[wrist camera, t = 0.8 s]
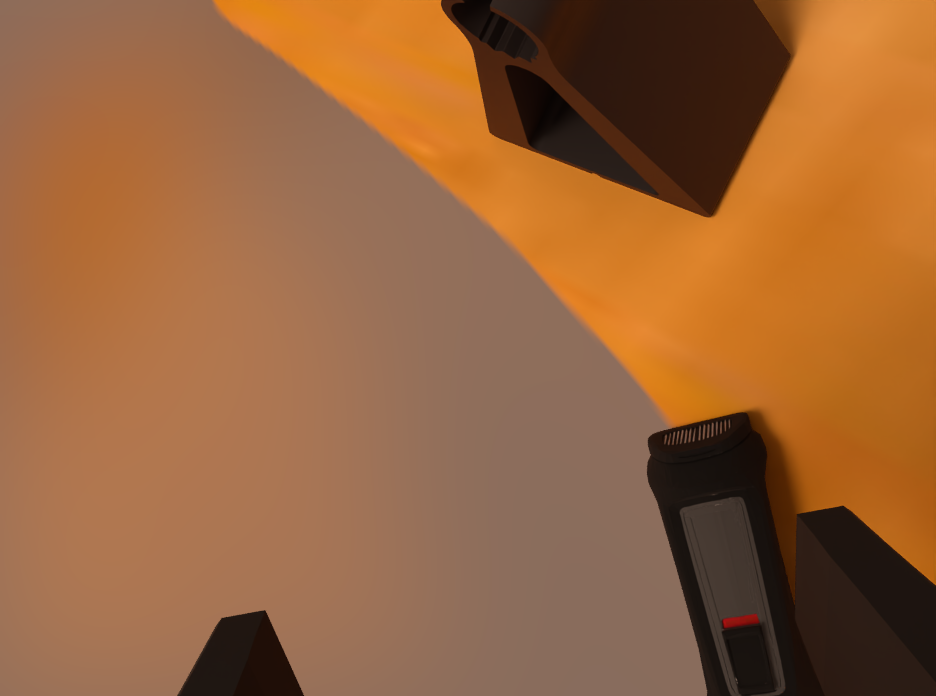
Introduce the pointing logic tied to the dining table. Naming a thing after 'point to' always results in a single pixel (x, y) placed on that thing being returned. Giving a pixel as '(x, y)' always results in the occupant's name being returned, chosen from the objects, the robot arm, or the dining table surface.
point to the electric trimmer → (729, 558)
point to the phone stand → (627, 86)
